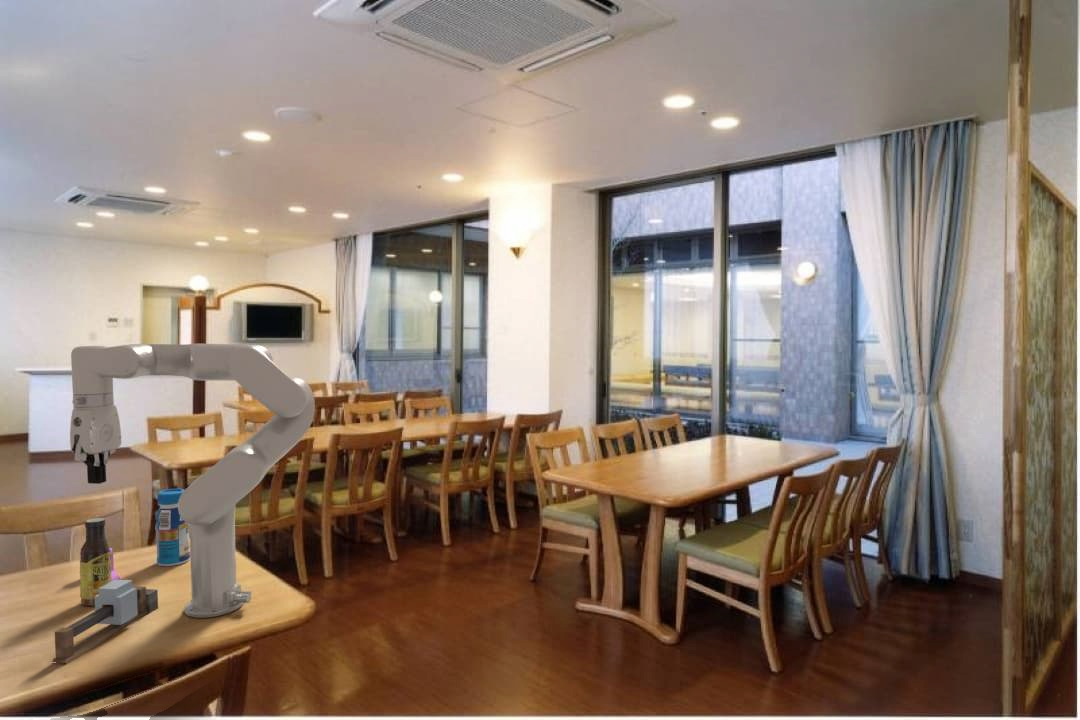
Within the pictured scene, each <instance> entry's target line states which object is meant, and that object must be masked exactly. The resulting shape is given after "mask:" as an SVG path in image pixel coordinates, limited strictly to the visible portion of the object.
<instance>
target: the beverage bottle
mask: <svg viewBox="0 0 1080 720" xmlns="http://www.w3.org/2000/svg"><path fill="white" fill-rule="evenodd" d="M184 490H185V489H183V488H169V489H164V490H160V491H158V493H157V505H158V506H159V508H158V509H157V510H156V514H155V517H154V518H155V520H156V523H155V525H154V530H155V536H156V564H157V565H158V566H160V567H174V566H179V565H182V564H185V563H187V562H188V561H190V524H188V523H187V522H185V521H184V520H183V519H182V518H181V516H180V514H179V511H178V502H179V498H180V496H181V494H182V493H183V492H184Z"/></svg>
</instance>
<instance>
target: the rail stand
mask: <svg viewBox="0 0 1080 720" xmlns="http://www.w3.org/2000/svg"><path fill="white" fill-rule="evenodd" d="M146 587H147V586H140V585H137V586H134V587H133V588H137V608H138V615H136V616H135V617H133V618H132V619H130V620H128V621H127V622H125V623H124V624H122V625H114V624H108V625H106V627H104V628H102V629H101V630H99V631H96V632H95V633H94V634H93V635H91V636H89V637H87V638H86V639H84V640H82V641H81V642H79V643H77V644H76V645H75V644H74V643H75V640H74V638H75V637H78V636H79V635H80V634H82V633H84V632H86V631H87V630H89V629H91V628H92V627H94V626H96V625H97V623H99V622H101V621H102V620H104V619H106V618H108V617H109V616H111V615H113V614H114V609H113V605H105V606H104V607H102V608H100V609H98V610H97V611H95V610H94V611H92V612H91V613H89V614H88V615H86V616H84V617H82V618H81V619H79V620H77V621H75V622H74V623H72V624H70V625H68V626H67V627H61V628H59V629H57V630H54V646H55V650H54V651H55V652H54V653H55V657H54V658H53V659H52V663H53V662H56V663H66V664H65V665H68V664H70V663H71V662H73V661H74V660H76V659H78V658H79V657H81V656H82V655H83V654H85V653H87V652H89V651H90V650H92V649H93V648H95V647H96V646H98V645H100V644H101V643H103V642H104V641H106V640H107V639H109V638H110V637H112V636H114V635H116V634H118V632H120V631H122V630H124V629H125V628H127V627H128V626H130V625H131V624H132V623H135V622H137V620H139V619H141V618H142V617H144V616H145V615H148V614H151V613H152V612H155V611H157V609H159V598H158V597H159V596H158V592H159V591H158V589H152V588H151V589H149V588H146ZM69 662H70V663H69ZM67 663H68V664H67Z"/></svg>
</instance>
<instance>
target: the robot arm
mask: <svg viewBox="0 0 1080 720" xmlns="http://www.w3.org/2000/svg"><path fill="white" fill-rule="evenodd" d="M70 360H71V361H70V363H71V385H72V404H73V407H72V411H71V417H70V431H69V440H70V441H69V442H70V443H69V445H70V451H71V453H72V454H74V460H75V461H78V462H83V463H84V466H85V467H86V469H87V470H86V472H87V473H86V474H87V483H88V484H91V485H94V484H97V485H99V484H103V483H105V482H107V469H106V465H107V464H108V462H109V459H108V458H109V457H110V455H112V454H114V453H115V452H116V451H117V449H118V448H119V447H121V446H122V431H121V430H122V429H121V422H120V417H119V412H118V408H117V405H115V403H114V400H115V399H114V379H123V380H124V379H125V380H127V379H128V380H129V379H135V378H139V377H142V376H143V377H144V376H173V377H174V376H175V377H177V376H178V377H184V378H188V379H190V380H193V381H226V382H227V381H235V382H236V383H237V384H238V385H240V386H241V387H242V389H244V390H245V391H246V392H247V393H248V394H250V395H251V396H252V397H253V398H254V399H256V400H257V401H258V402H259V403H260V404H261V405H262V406H264V407H265V408H266V409H267V410H268V411H270V412H271V413H272V414H273V416H272V417H271V418H269V420H267V422H266V423H264V424H263V425H262V426H261V427H260V428H259V429H258V430H257V431H255V432H254V433H253V434H252V435H250V437H248V438H247V439H246V440H245V441H243V442H242V443H241V444H239V445H237V446H235V447H233V448H232V449H231V450H230V451H229V452H227V454H225V455H224V456H223V457H222V458H221V459H220V460H218V462H216V463H215V464H214V465H213V466H212V467H210V468H209V469H208V470H207V471H206V472H205V473H203V474H202V475H201V476H199V477H198V478H196V479H195V480H194V481H193V482H192V483H190V485H188V487H187V488H185V489H184V492H183V493H182V494H181V496H180V498H179V502H178V511H179V514H180V516H181V518H182V519H183V520H184V521H185V522H187V523H188V524H190V525H189V549H190V559H189V561H190V585H191V586H190V587H191V599H190V600H189V601H187V603H185V606H184V614H185V615H187V616H188V617H192V618H197V619H199V618H200V619H204V618H206V619H208V618H214V617H220V616H223V615H226V614H227V615H228V614H229V613H232V612H234V611H237V610H238V609H239V608H241V607H242V606H243V605H244V604H249V603H250V602H251V600H252V591H251V590H242V585H241V583H237V567H236V565H237V564H236V563H237V562H236V560H237V559H236V504H238V503H239V502H240V501H241V500H242V499H243V498H245V497H246V496H247V495H248V494H249V493H250V492H251V491H253V490H254V489H255V488H256V487H257V486H258V485H259V484H260V483H261V481H262V480H263V479H264V477H265V476H266V475H267V473H268V471H269V470H270V469H272V467H273V466H274V465H275V464H277V463H278V462H279V461H280V460H281V459H282V458H283V457H284V456H286V454H288V453H289V452H290V451H291V450H292V449H293V448H294V447H295V446H296V445H297V444H298V443H299V442H300V441H301V440H302V439H303V437H304V436H305V435H306V434H307V432H308V431H309V429H310V428H311V425H312V423H313V420H314V416H315V411H316V409H315V408H316V404H315V397H314V393H313V390H312V389H311V386H310V384H308V383H307V381H306V380H304V379H302V378H298V377H290V376H289V375H288V374H286V373H285V371H283V370H282V369H281V368H280V367H278V365H277V364H276V363H274V359H273V356H272V354H271V352H270V351H269V350H268V349H267V348H266V347H264V346H262V345H259V344H245V343H244V344H242V343H241V344H239V343H238V344H237V343H236V344H235V343H189V344H175V343H174V344H172V343H170V344H169V343H168V344H167V343H163V344H162V343H132V344H123V345H122V344H121V345H116V346H109V347H108V346H106V345H82V346H81V345H79V346H76V347H74V348H73V349H72V351H71V353H70Z"/></svg>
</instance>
